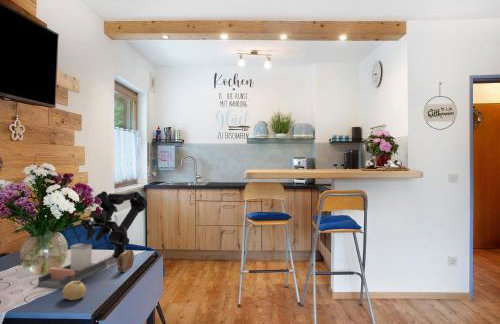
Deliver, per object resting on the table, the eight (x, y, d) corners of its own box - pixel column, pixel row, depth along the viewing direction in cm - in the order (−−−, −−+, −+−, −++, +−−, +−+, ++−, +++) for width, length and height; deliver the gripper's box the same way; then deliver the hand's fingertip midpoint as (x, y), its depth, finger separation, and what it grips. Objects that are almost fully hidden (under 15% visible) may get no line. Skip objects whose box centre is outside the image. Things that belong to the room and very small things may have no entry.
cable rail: (84, 265, 172) (84, 254, 172) (105, 267, 169) (106, 256, 169) (38, 285, 145) (38, 272, 145) (62, 288, 142) (62, 275, 142)
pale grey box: (78, 266, 164) (78, 243, 164) (91, 267, 163) (91, 244, 162) (70, 269, 159) (70, 245, 159) (83, 271, 158) (84, 247, 157)
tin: (122, 274, 160) (123, 256, 160) (115, 274, 160) (116, 256, 160) (134, 264, 175) (134, 247, 175) (128, 264, 175) (128, 247, 175)
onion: (64, 304, 127) (64, 285, 127) (60, 297, 134) (61, 278, 134) (87, 299, 132) (88, 281, 132) (83, 292, 138) (83, 275, 138)
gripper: (83, 203, 175) (66, 229, 164) (116, 205, 170) (101, 232, 160) (93, 216, 182) (78, 242, 172) (125, 218, 178) (111, 245, 168)
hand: (91, 240), depth 168 cm, fingers open, 4 cm apart
